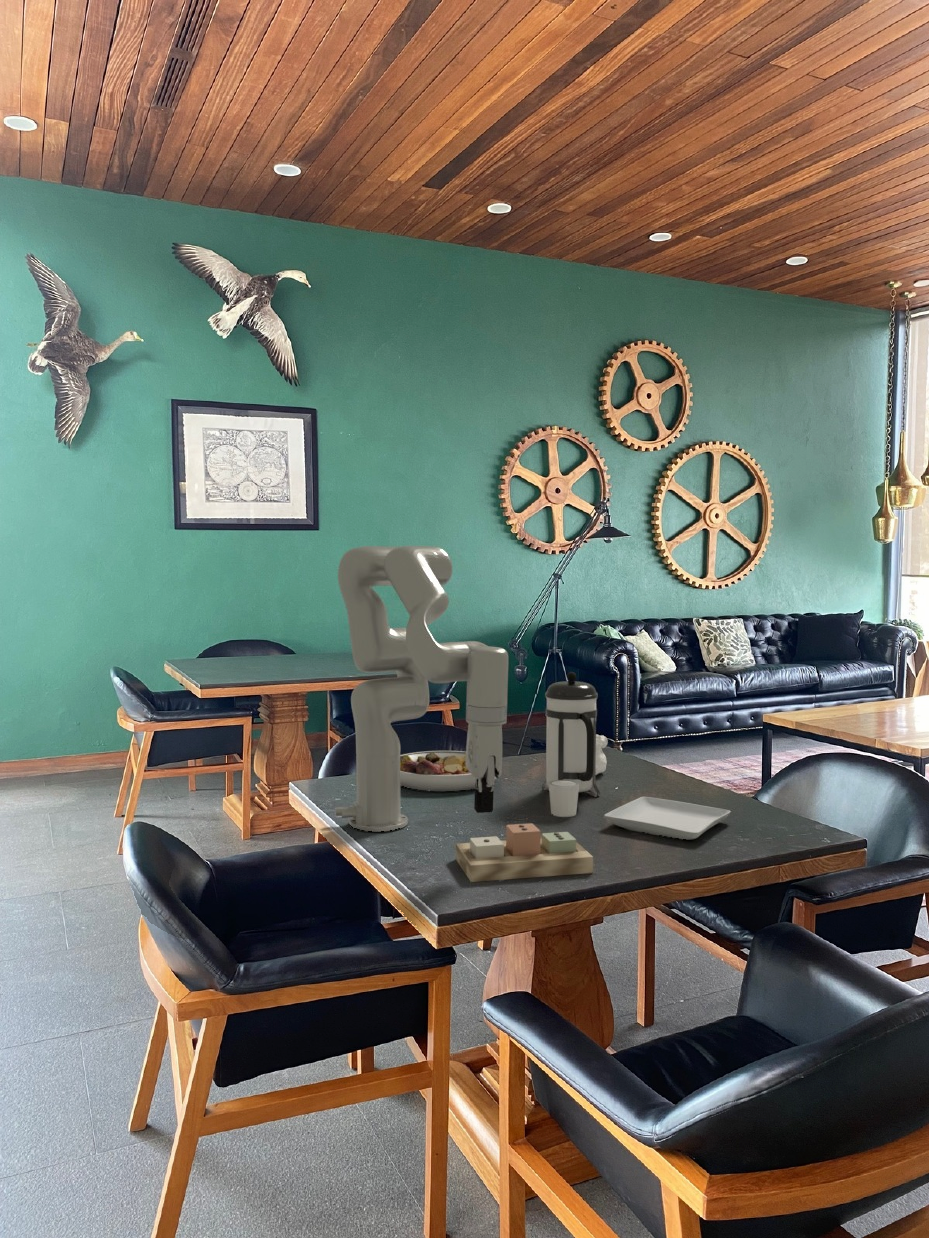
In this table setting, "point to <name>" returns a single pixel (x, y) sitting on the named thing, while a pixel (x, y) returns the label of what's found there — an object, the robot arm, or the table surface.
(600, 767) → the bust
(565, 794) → the shot glass
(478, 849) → the white dice block
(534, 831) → the tan dice block
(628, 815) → the salad plate
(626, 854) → the table surface
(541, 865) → the wooden dice block tray
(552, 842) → the green dice block
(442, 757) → the bowl
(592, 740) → the coffee press
